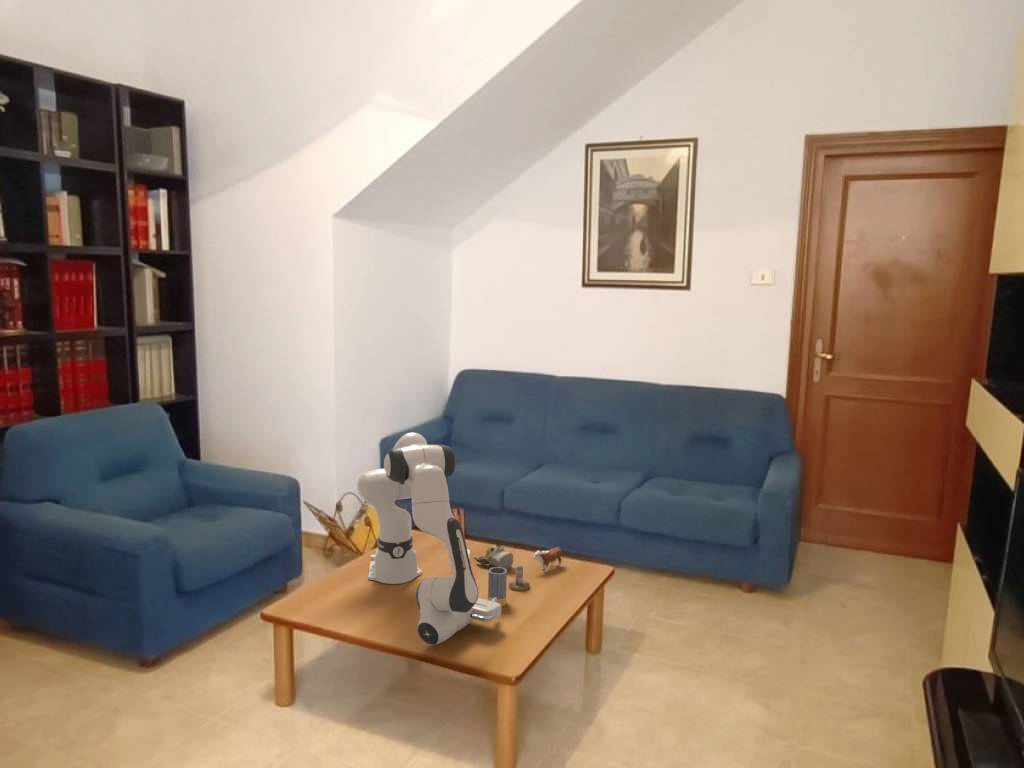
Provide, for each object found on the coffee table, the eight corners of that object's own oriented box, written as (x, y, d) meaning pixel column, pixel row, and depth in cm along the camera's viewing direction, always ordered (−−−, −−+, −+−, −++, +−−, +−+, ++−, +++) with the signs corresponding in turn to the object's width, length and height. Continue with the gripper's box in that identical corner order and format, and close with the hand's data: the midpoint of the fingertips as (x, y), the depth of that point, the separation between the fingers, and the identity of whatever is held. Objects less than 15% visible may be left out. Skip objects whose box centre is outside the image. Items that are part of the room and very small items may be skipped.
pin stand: (506, 583, 265) (506, 562, 264) (525, 581, 267) (525, 560, 266) (512, 591, 259) (513, 570, 257) (532, 589, 261) (532, 568, 260)
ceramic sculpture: (500, 551, 271) (472, 542, 282) (500, 575, 272) (472, 565, 282) (521, 545, 278) (493, 536, 289) (521, 568, 279) (493, 559, 290)
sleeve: (485, 600, 252) (486, 568, 250) (503, 598, 254) (503, 566, 252) (490, 607, 246) (491, 574, 245) (508, 605, 248) (509, 572, 247)
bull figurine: (530, 572, 276) (530, 550, 275) (556, 563, 285) (557, 542, 284) (538, 576, 273) (539, 553, 271) (565, 566, 282) (565, 545, 280)
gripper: (488, 610, 223) (511, 593, 235) (430, 595, 233) (455, 579, 245) (487, 631, 224) (510, 613, 236) (430, 614, 234) (454, 598, 246)
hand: (482, 595), depth 241 cm, fingers open, 8 cm apart
